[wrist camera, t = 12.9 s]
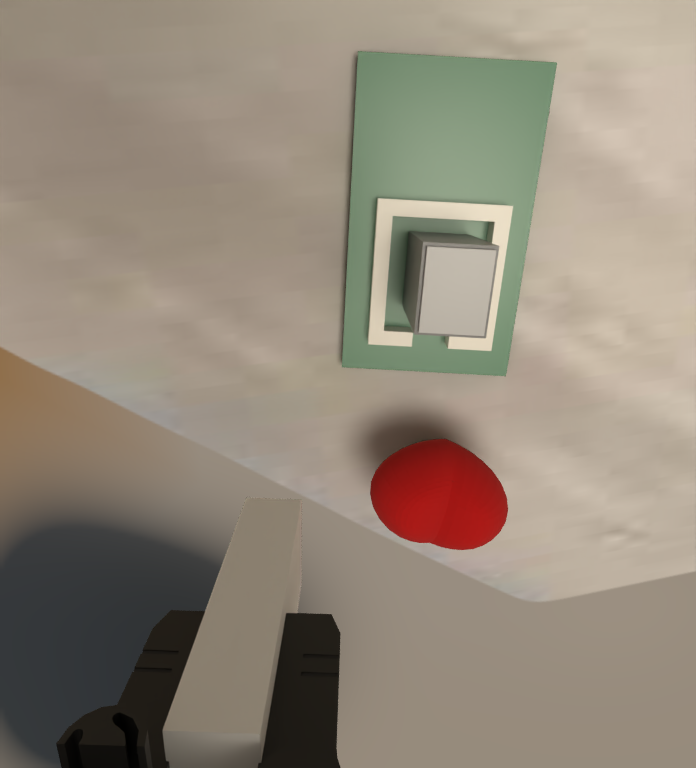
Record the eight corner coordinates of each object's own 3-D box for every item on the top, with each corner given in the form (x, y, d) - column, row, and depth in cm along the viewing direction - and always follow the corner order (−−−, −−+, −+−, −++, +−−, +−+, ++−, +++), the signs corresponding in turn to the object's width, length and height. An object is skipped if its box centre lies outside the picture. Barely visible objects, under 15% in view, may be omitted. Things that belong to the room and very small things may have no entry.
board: (357, 56, 33) (358, 44, 30) (550, 67, 33) (566, 56, 30) (342, 362, 40) (341, 373, 37) (501, 370, 40) (511, 383, 37)
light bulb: (495, 423, 41) (536, 491, 32) (469, 499, 44) (500, 583, 34) (379, 398, 41) (386, 460, 31) (359, 476, 43) (359, 556, 34)
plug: (408, 231, 35) (423, 242, 27) (468, 234, 35) (500, 246, 27) (401, 319, 37) (413, 353, 30) (457, 322, 37) (484, 357, 30)
